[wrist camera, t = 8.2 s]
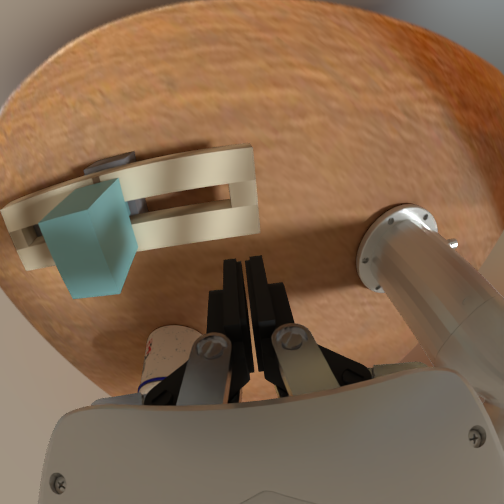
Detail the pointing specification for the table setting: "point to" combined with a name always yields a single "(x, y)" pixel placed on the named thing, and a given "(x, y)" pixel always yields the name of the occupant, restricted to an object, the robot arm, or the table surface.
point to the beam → (145, 185)
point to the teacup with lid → (165, 353)
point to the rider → (91, 239)
